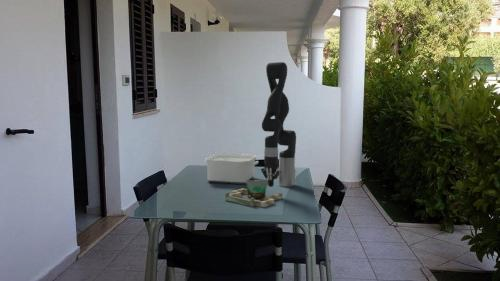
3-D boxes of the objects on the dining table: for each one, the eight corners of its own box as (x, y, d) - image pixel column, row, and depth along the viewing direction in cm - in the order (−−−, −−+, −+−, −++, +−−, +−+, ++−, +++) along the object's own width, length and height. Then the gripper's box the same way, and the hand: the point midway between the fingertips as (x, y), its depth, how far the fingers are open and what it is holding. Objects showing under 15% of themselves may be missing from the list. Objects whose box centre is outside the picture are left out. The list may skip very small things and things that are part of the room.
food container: (248, 200, 239) (248, 181, 238) (245, 197, 245) (245, 179, 244) (270, 198, 242) (270, 180, 241) (267, 196, 248) (267, 178, 247)
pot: (198, 183, 281) (198, 159, 279) (213, 174, 308) (213, 152, 306) (251, 186, 272) (252, 162, 270) (262, 177, 299) (263, 155, 298)
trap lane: (249, 191, 259) (249, 184, 259) (289, 199, 241) (289, 192, 241) (218, 198, 241) (218, 191, 241) (259, 208, 223) (259, 200, 222)
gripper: (285, 155, 247) (284, 187, 250) (266, 153, 256) (265, 183, 258) (276, 157, 242) (276, 189, 244) (257, 154, 251) (257, 185, 253)
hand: (270, 186), depth 251 cm, fingers closed
